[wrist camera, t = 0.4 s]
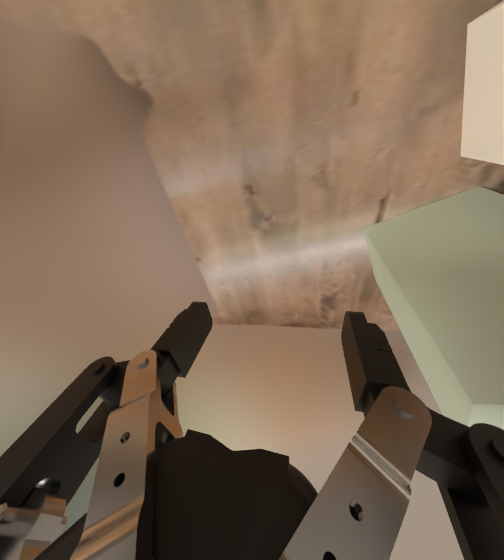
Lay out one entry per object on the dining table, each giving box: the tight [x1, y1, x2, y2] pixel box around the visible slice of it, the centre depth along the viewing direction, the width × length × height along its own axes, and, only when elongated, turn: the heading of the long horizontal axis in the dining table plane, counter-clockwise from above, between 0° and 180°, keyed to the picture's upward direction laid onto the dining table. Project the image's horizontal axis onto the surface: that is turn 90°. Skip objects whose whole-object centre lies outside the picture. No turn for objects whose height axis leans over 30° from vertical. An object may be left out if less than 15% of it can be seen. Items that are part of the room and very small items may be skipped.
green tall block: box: [363, 186, 504, 430], centre depth 21 cm, size 14×12×26 cm
